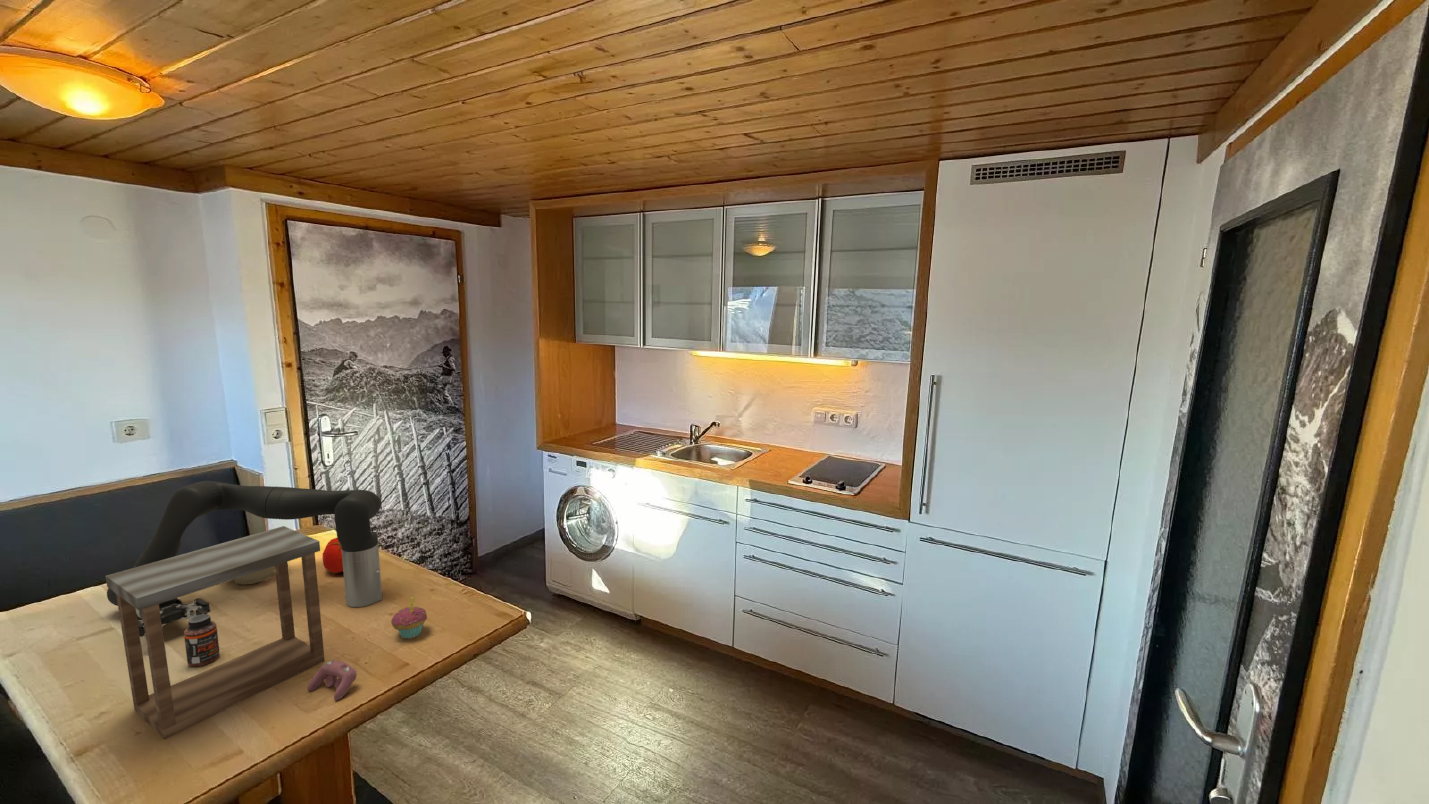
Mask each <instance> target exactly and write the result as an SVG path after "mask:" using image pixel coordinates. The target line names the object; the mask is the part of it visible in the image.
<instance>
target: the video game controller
mask: <svg viewBox="0 0 1429 804" xmlns="http://www.w3.org/2000/svg"><path fill="white" fill-rule="evenodd" d="M356 678H357V670H356V669H355V668H354V667H352V666H351V665H350V664H348V663H346V662H344V661H342V660H331V661H327V662H323V665H321V666H320V667H319V668H318V670H317V672H316V673H315V674H314V676H312V678H311V680H310V681H309V682H308V685H307V691H308V692H313V691H314V690H316V689H318V687H319V686H320V685H321V684H322V683H323V682H324V683H325V686H326V687H327V688H329V687H334V688H335V692H334V696H333V700H335V701H339V700H341V699H342V698H343V697H344V696H345V695H346V694H347V693H348V691H349V690H350V688H351V686H352V684H353V683H354V682H355V680H356Z"/></svg>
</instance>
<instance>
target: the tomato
mask: <svg viewBox="0 0 1429 804" xmlns="http://www.w3.org/2000/svg"><path fill="white" fill-rule="evenodd" d="M322 564H323V567H324V569H326V570H327V571H328V572H329V573H334V574H339V573H340V574H341V573H343V561H342V550H341V544H340V542H339V541H338V538H337V537H334V538H332V539H330V540H329V541H328V542H327V544H326V545H325V547H324V550H323V552H322Z"/></svg>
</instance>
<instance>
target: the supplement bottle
mask: <svg viewBox="0 0 1429 804" xmlns="http://www.w3.org/2000/svg"><path fill="white" fill-rule="evenodd" d="M183 637H184V644H185V652H186V653H185V654H186V661H187V664H188V666H190V667H201V666H205V665H208V664H212V663H214V662H215V660H217V659H218V658H219V656H220V644H219V635H218V627H217V623H216V622H214V621H213V620H212V618H211V615H210V614H208V613H207V614H202V615H198V616H195V617H192V618H190V619H188V627H186V629H185V630H184V632H183Z"/></svg>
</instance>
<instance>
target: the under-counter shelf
mask: <svg viewBox="0 0 1429 804" xmlns="http://www.w3.org/2000/svg"><path fill="white" fill-rule="evenodd" d="M320 545H321V544H320V540H318V539H315V538H313V537H310V536H308V535H306V534H303V533H301V532H299V531H297V530H294V529H292V528H289V527H287V526H285V525H282V526H279V527H276V528H272V529H268V530H265V531H262V532H258V533H254V534H251V535H247V536H244V537H239V538H237V539H233V540H228V541H225V542H222V543H218V544H215V545H212V546H208V547H207V546H206V547H204V548H200V549H196V550H193V551H190V552H186V553H182V554H179V555H178V554H177V556H175V557H171V558H167V559H164V560H160V561H157V562H153V563H150V564H146V565H142V566H139V567H135V568H133V567H132V568H129V569H125V570H121V571H117V572H114V573H111V574H108V575H105V581H106V582H105V583H106V586H107V589H108V588H109V589H111V590H112V591H113V592H115V593H116V596H117V602H118V606H117V607H118V612H119V613H118V614H119V615H118V616H119V620H120V625H121V632H122V639H123V646H124V650H125V651H124V652H125V657H126V666H127V671H128V678H129V684H130V690H131V696H132V703H133V708H134V712H135V713H137V714H138V715H139V716H140V717H141V718H142V719H143V720H144V721H145V722H146V723H147V724H148V725H149V726H150V727H151V728H152V729H153V730H155V732H156V733H157V734H158V735H160V737H161V738H162V739H163V740H166V739H168V738H170V737H172V736H174V735H176V734H178V733H180V732H183V731H184V730H186V729H188V728H190V727H193V726H195V725H196V724H200V723H201V722H203V721H205V720H207V719H209V718H212V717H213V716H215V715H217V714H219V713H221V712H223V711H226V710H227V709H229V708H231V707H232V708H233V707H234V706H236V705H238V704H240V703H242V702H244V701H246V700H248V699H251V698H253V697H255V696H256V695H258V694H260V693H262V692H264V691H266V690H269V689H271V688H273V687H275V686H277V685H279V684H280V683H283V682H285V681H288V680H289V679H292V678H293V677H295V676H298V675H300V674H302V673H304V672H305V671H307V670H309V669H312V668H315V667H316V666H318V665H320V664H322V663H325V662H326V661H325V649H324V639H323V629H322V618H321V616H322V615H321V606H320V595H319V586H318V585H319V584H318V573H317V563H316V553H318V552H321V546H320ZM300 558H301V567H302V577H303V578H302V579H303V587H304V589H303V590H304V597H305V598H304V600H305V606H306V607H305V610H306V618H307V629H308V630H307V631H308V640H309V644H308V643H306V642H305V641H303V640H302V639H299V638H298V637H296V633H295V624H294V622H295V621H294V615H293V605H292V604H293V603H292V594H291V585H290V574H289V564H288V562H291V561H294V560H297V559H300ZM273 566H275V570H274V574H275V582H276V590H277V601H278V610H279V617H280V618H279V619H280V620H279V621H280V628H281V638H279V639H277V640H275V641H272V642H270V643H268V644H265V645H263V646H261V647H257V649H253V650H251V651H249V652H246V653H244V654H242V655H239V656H237V657H235V658H233V659H230V660H228V661H226V662H223V663H221V664H219V665H217V666H214V667H211V668H209V669H206V670H205V671H203V672H201V673H200V672H199V673H197V674H195V675H192V676H190V677H187V678H185V679H184V680H180V681H179V682H175V684H172V685H171V680H170V675H169V674H170V673H169V667H168V666H169V665H168V659H167V653H166V652H167V651H166V646H165V645H166V644H165V639H164V632H163V626H162V623H161V616H160V609H159V604H160V603H163V602H166V601H169V600H172V599H175V598H178V599H179V598H180V597H185V596H186V595H189V594H194V593H197V592H199V591H202V590H206V589H208V588H212V587H214V586H218V585H220V584H223V583H226V582H227V583H228V582H229V581H233V580H235V579H236V578H239V577H242V576H245V575H248V574H251V573H254V572H257V571H261V570H264V569H267V568H270V567H273ZM136 609H137V610H142V616H143V619H142V620H143V622H144V626H143V627H144V629H145V634H144V636H145V641H146V649H147V655H148V661H149V667H150V668H149V669H150V677H151V681H152V688H153V693H151V694H149V689H148V683H147V682H148V681H147V675H146V668H145V662H144V656H143V655H144V654H143V648H142V641H141V637H140V635H139V628H138V622H137V620H138V615H137V614H136Z"/></svg>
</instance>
